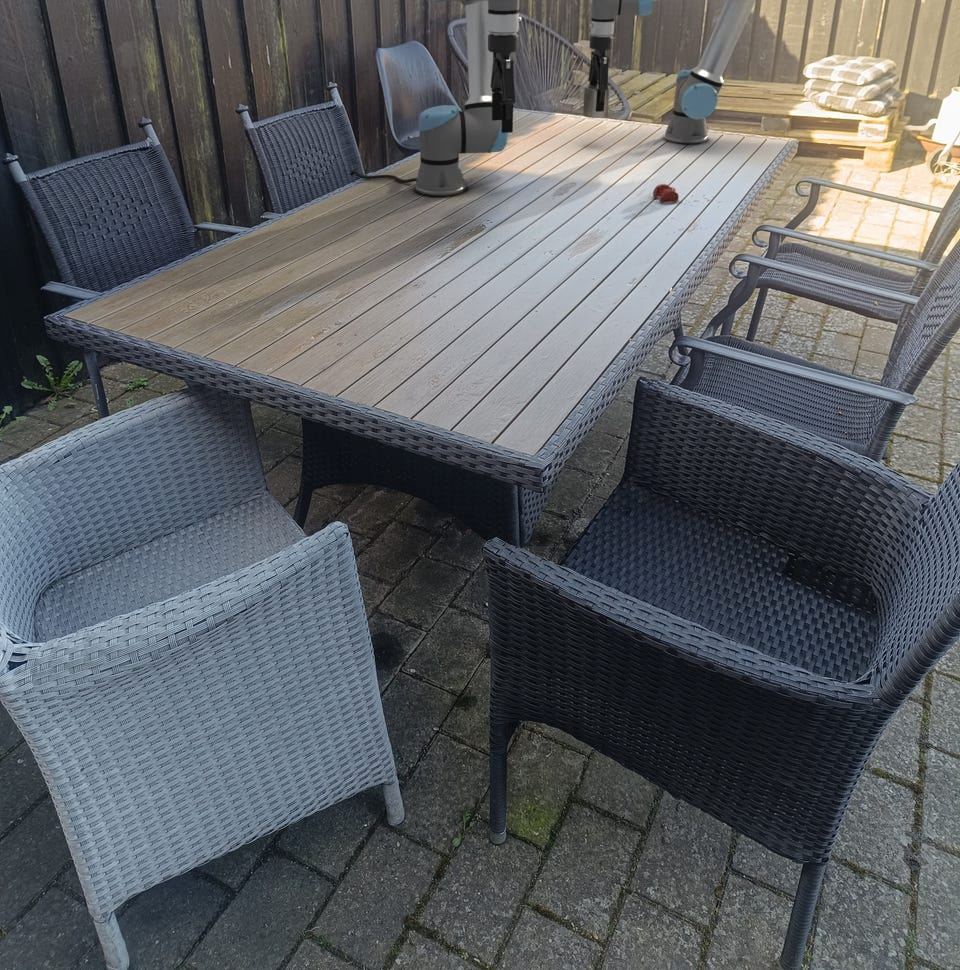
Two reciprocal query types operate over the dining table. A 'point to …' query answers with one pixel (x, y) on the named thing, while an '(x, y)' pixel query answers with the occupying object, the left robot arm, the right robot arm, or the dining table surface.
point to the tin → (594, 102)
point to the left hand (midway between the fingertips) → (502, 126)
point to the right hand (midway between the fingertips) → (596, 108)
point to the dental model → (665, 193)
